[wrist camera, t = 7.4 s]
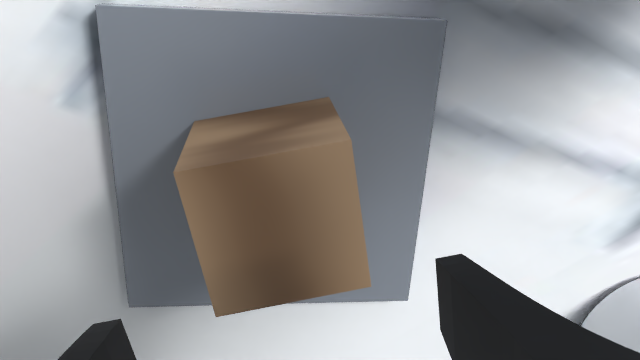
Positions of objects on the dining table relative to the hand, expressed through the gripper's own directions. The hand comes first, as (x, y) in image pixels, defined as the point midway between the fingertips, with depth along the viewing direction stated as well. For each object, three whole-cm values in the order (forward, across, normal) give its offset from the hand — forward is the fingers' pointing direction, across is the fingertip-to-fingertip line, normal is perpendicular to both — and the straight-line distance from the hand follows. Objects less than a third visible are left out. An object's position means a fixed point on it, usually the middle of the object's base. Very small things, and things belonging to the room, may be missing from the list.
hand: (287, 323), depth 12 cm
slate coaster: (+10, 0, 0) cm, 10 cm away
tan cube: (+9, 0, 0) cm, 9 cm away
